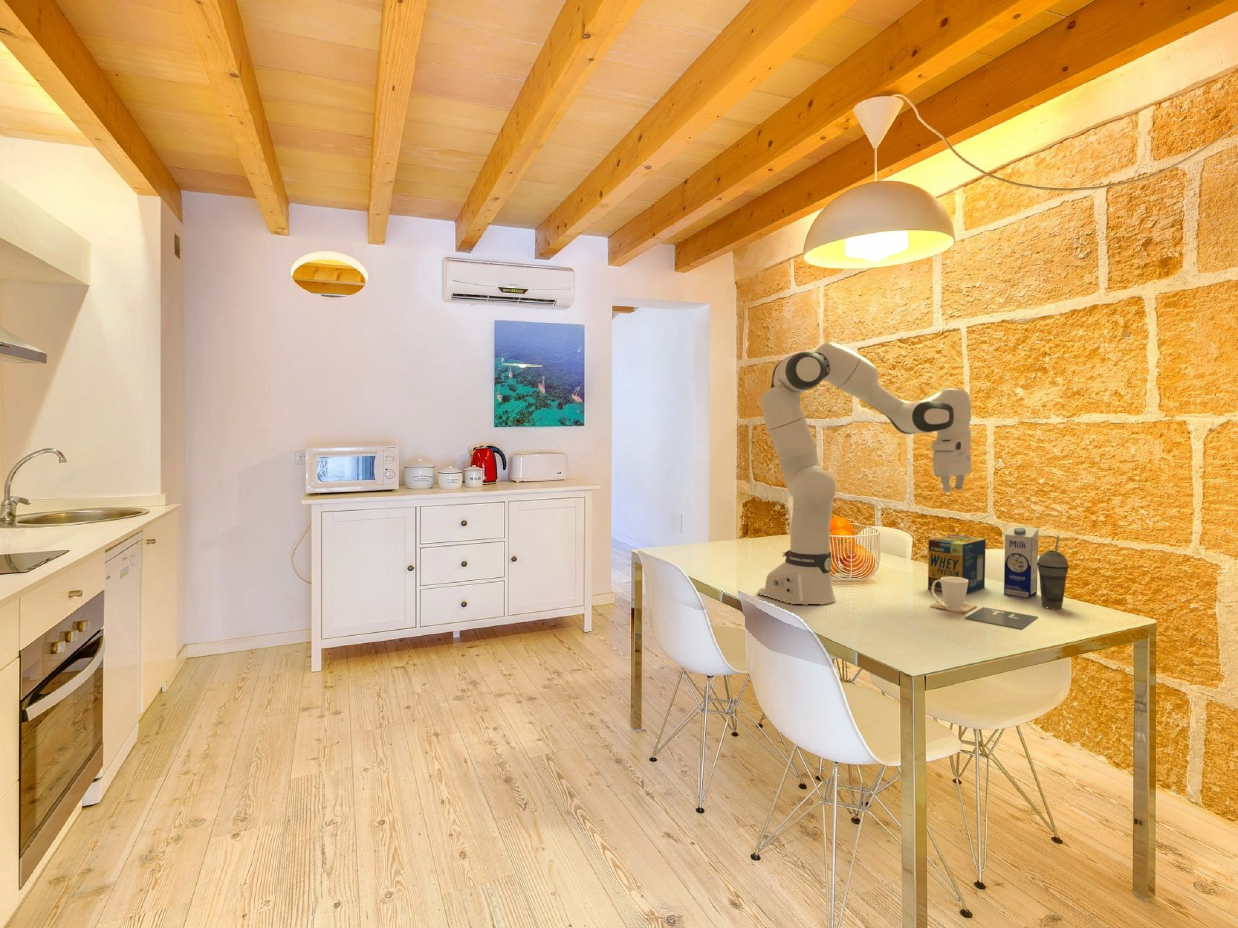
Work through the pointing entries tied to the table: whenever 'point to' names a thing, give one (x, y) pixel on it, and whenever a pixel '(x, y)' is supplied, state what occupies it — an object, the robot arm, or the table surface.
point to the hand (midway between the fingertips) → (953, 491)
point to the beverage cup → (1052, 577)
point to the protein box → (957, 560)
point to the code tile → (1001, 618)
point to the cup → (952, 592)
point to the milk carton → (1021, 562)
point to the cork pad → (965, 610)
